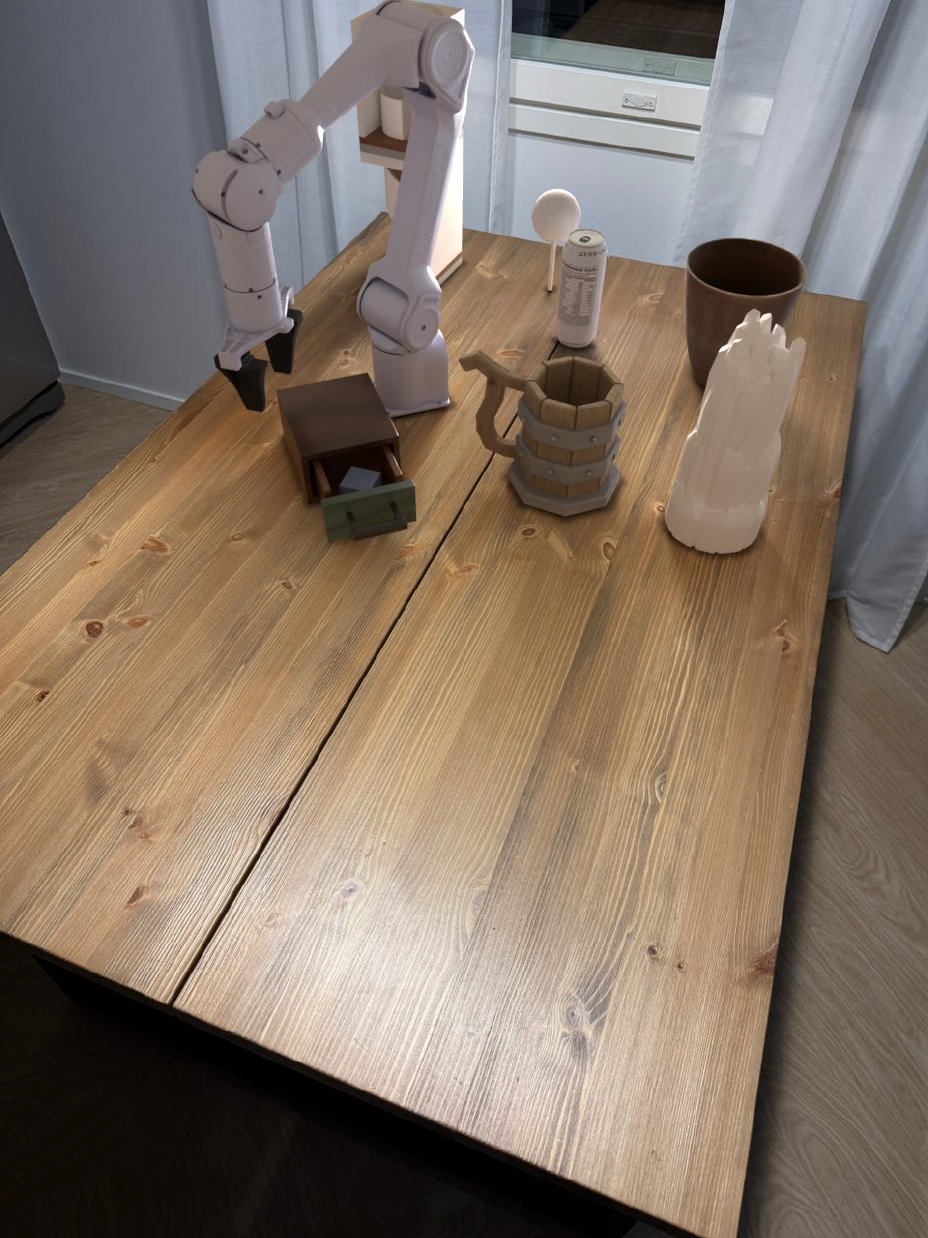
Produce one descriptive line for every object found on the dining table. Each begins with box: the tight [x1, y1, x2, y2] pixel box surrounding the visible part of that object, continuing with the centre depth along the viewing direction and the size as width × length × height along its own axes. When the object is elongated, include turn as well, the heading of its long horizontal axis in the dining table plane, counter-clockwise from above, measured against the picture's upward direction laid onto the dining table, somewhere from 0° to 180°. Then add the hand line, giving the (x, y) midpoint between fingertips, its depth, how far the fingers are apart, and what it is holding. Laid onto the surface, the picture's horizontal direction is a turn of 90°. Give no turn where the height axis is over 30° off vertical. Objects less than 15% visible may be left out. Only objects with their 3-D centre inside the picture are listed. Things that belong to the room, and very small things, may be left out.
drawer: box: [308, 444, 417, 542], centre depth 102 cm, size 17×10×5 cm, turn 20°
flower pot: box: [683, 237, 808, 387], centre depth 118 cm, size 15×15×16 cm
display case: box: [350, 0, 465, 286], centre depth 129 cm, size 11×11×35 cm
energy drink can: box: [554, 228, 609, 349], centre depth 124 cm, size 6×6×15 cm
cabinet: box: [275, 372, 402, 505], centre depth 108 cm, size 14×12×7 cm
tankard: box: [458, 349, 628, 517], centre depth 104 cm, size 20×13×15 cm, turn 65°
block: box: [339, 466, 381, 495], centre depth 101 cm, size 4×4×4 cm
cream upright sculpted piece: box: [664, 309, 807, 555], centre depth 95 cm, size 11×11×25 cm
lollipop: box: [531, 188, 582, 291], centre depth 133 cm, size 7×7×15 cm
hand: (269, 390), depth 103 cm, fingers open, 7 cm apart
